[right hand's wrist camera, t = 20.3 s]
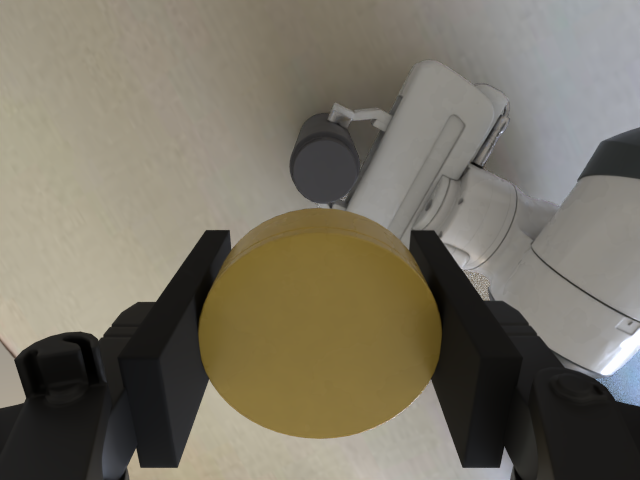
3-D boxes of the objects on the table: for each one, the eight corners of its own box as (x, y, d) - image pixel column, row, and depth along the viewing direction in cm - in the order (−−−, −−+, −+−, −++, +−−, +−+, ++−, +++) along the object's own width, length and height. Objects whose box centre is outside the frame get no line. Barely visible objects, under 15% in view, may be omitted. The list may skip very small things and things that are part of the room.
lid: (285, 418, 14) (280, 468, 12) (171, 273, 12) (146, 307, 10) (458, 339, 12) (480, 383, 11) (364, 165, 11) (372, 184, 9)
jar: (299, 112, 42) (287, 133, 28) (350, 114, 42) (364, 135, 28) (298, 163, 44) (287, 206, 30) (347, 164, 44) (359, 208, 30)
